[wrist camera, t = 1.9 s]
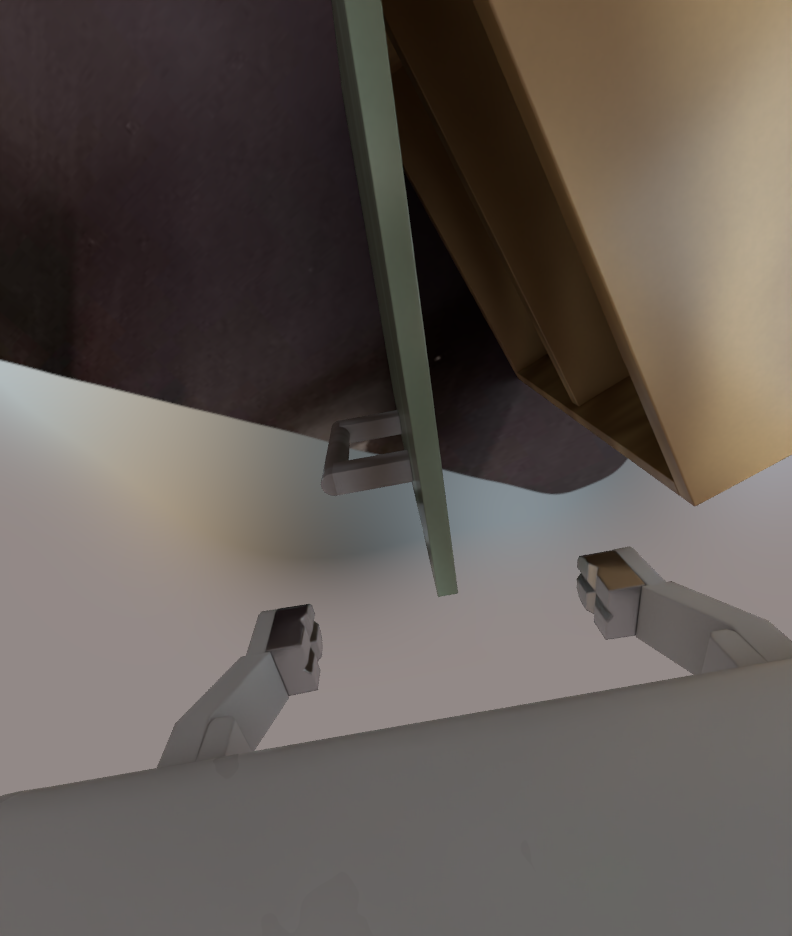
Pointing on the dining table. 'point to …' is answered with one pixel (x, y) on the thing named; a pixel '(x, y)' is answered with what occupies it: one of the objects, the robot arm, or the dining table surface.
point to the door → (388, 294)
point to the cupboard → (618, 210)
